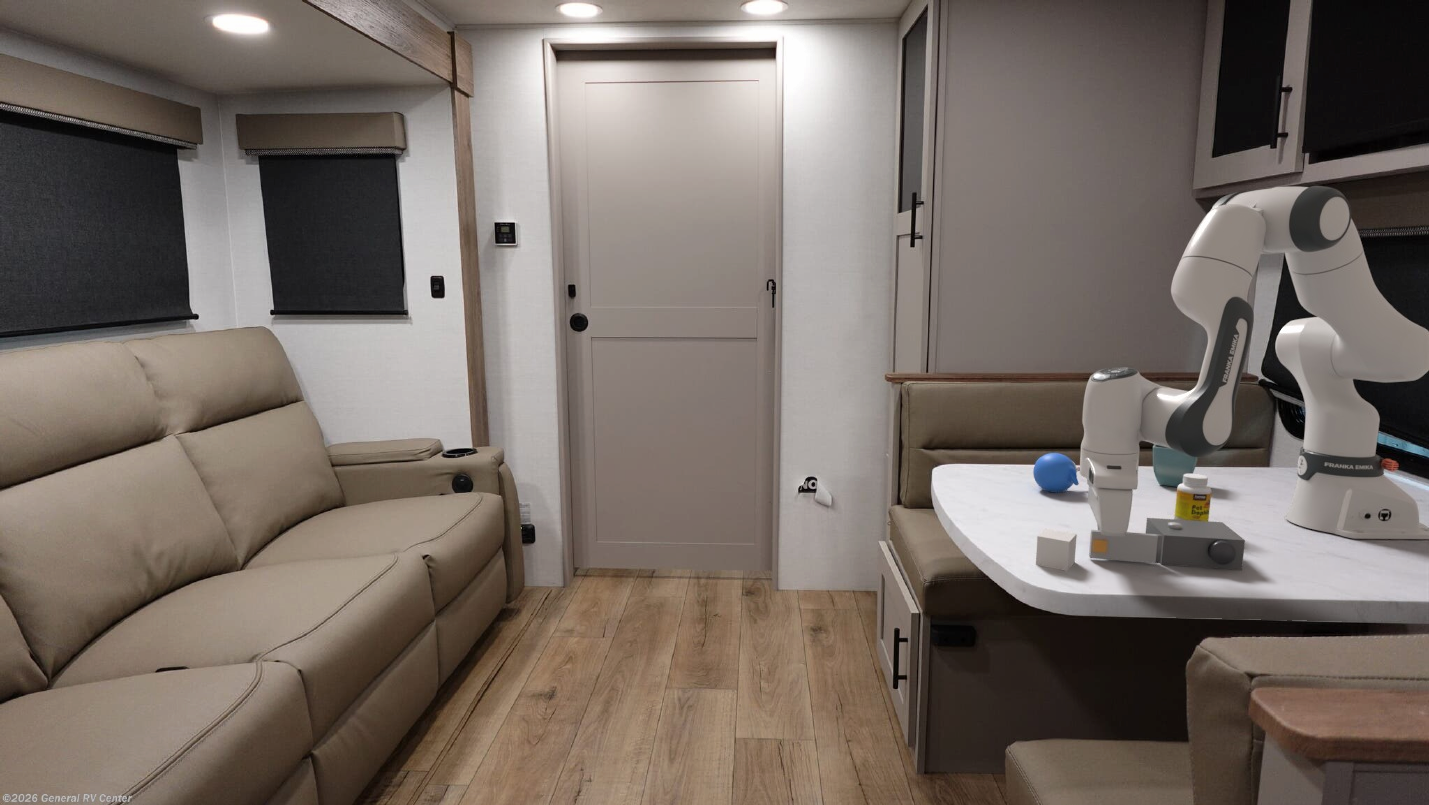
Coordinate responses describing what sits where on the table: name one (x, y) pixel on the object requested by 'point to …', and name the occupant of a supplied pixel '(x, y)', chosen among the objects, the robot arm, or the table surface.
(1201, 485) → the supplement bottle
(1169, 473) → the flower pot
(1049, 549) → the white cube
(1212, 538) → the camera body
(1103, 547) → the side door
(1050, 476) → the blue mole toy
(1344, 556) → the table surface
